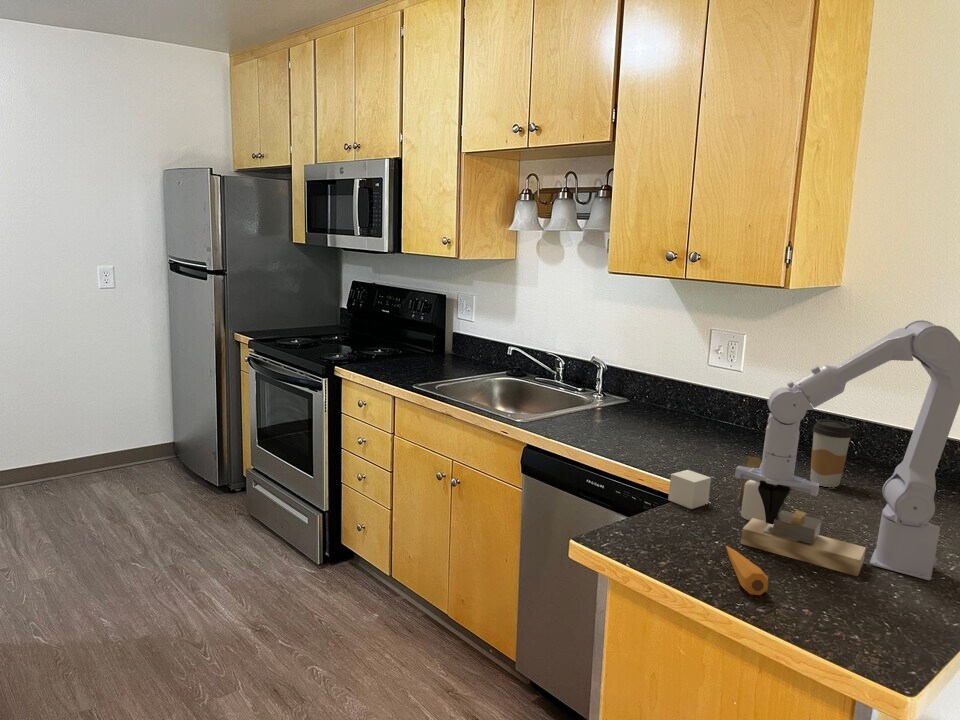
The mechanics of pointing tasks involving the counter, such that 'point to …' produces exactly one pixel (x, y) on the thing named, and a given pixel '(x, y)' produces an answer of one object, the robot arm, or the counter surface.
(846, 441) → the coffee cup
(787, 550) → the body
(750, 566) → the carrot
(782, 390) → the robot arm
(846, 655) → the counter surface
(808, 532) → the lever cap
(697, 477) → the white cube
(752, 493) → the eye dropper bottle
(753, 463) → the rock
